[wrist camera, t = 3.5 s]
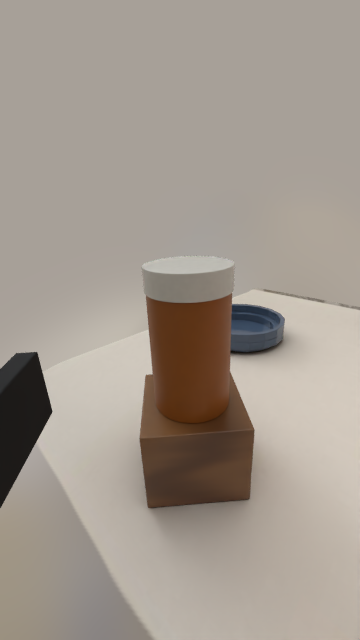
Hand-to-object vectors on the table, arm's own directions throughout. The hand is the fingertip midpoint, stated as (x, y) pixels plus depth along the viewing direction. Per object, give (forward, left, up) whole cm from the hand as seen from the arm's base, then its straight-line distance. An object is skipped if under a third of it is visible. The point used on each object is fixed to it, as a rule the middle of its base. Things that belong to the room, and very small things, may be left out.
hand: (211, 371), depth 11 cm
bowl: (-5, +37, -15) cm, 40 cm away
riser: (-4, +9, -15) cm, 18 cm away
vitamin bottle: (-4, +9, -8) cm, 13 cm away
